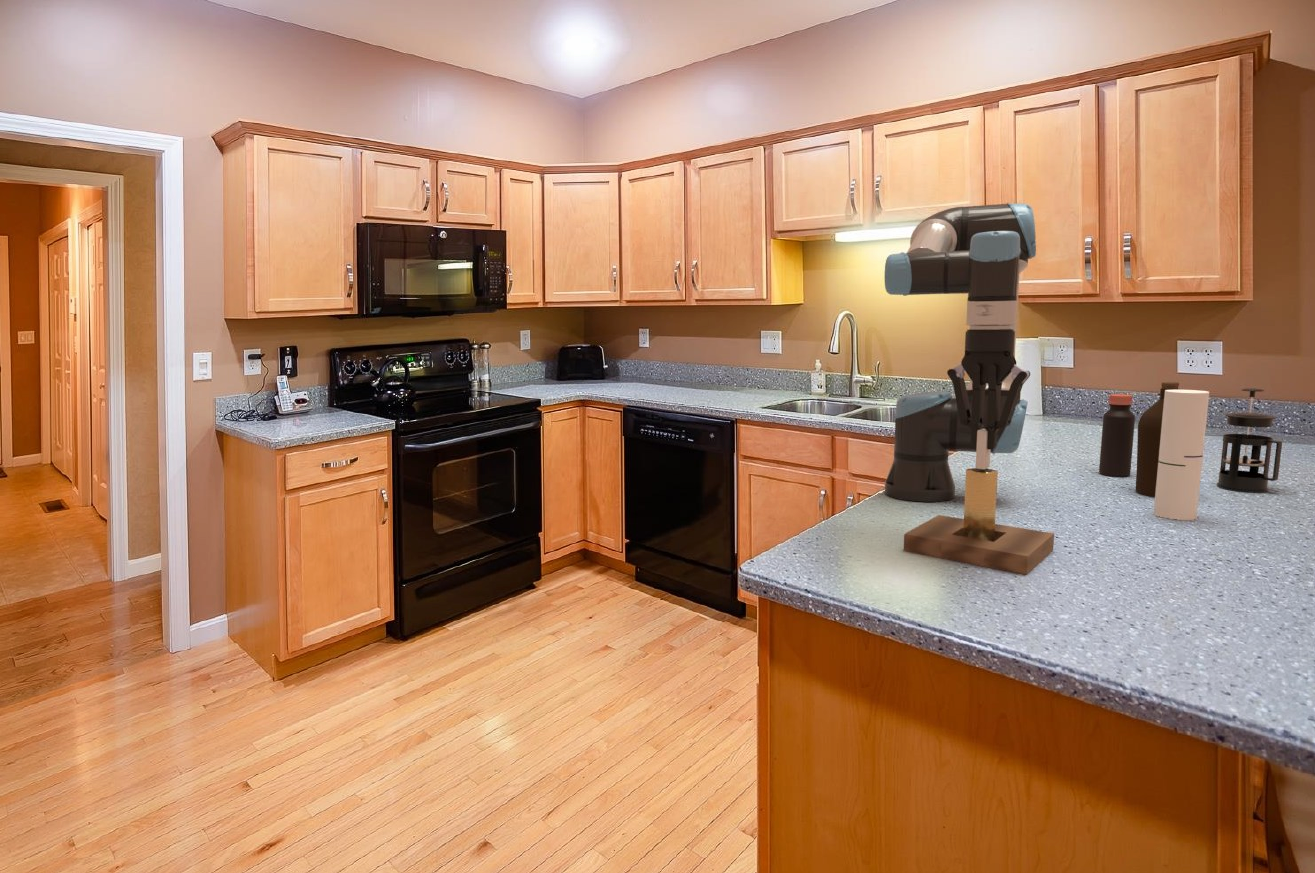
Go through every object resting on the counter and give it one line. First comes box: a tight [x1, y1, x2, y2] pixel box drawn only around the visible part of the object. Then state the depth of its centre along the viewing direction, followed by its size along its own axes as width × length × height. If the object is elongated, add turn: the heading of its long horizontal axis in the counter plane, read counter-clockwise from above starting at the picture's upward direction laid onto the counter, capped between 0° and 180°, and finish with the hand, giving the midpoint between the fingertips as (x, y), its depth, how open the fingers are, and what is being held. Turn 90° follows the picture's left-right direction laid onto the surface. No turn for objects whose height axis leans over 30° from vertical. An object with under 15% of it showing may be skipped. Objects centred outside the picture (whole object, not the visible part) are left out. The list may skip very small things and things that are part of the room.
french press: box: [1216, 387, 1283, 494], centre depth 172 cm, size 12×9×23 cm
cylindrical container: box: [1153, 389, 1210, 521], centre depth 150 cm, size 7×7×25 cm
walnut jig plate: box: [903, 514, 1055, 576], centre depth 131 cm, size 20×16×3 cm
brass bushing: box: [963, 467, 998, 542], centre depth 130 cm, size 5×5×14 cm
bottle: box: [1098, 393, 1136, 478], centre depth 189 cm, size 7×7×20 cm
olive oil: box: [1135, 381, 1180, 498], centre depth 168 cm, size 11×11×25 cm
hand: (982, 467), depth 129 cm, fingers closed
